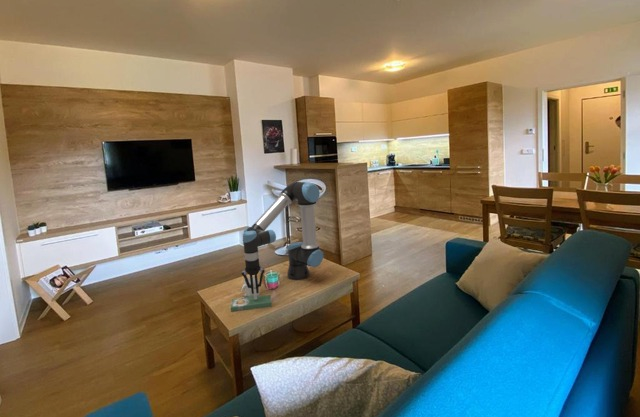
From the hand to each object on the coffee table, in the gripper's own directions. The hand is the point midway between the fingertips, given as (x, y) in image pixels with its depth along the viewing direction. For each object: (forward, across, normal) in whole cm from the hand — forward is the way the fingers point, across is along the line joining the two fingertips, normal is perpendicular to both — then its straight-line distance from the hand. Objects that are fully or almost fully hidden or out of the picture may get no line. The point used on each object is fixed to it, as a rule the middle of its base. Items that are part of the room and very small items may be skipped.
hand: (255, 298), depth 191 cm
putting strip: (+4, +3, 0) cm, 4 cm away
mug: (+4, +4, -10) cm, 11 cm away
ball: (+2, +8, 0) cm, 9 cm away
